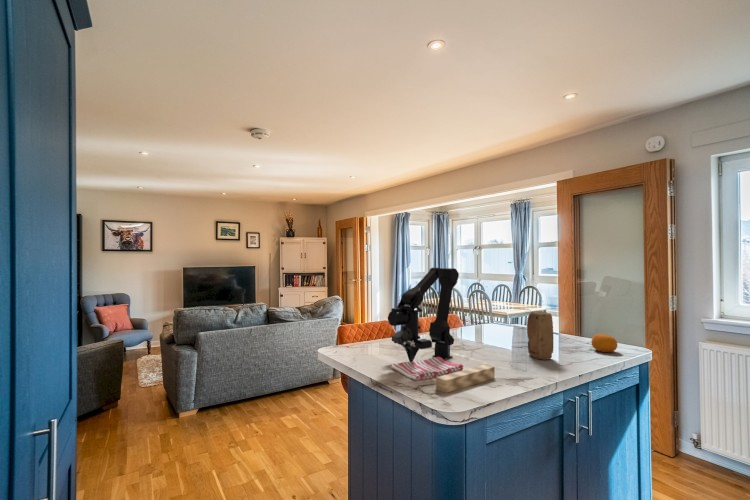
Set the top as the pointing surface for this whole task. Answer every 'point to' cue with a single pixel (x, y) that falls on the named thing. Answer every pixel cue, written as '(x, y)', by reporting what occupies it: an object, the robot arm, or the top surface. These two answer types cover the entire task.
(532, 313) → the block
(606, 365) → the top surface
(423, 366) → the dish towel
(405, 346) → the robot arm
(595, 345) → the fruit
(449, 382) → the tan wooden bar
